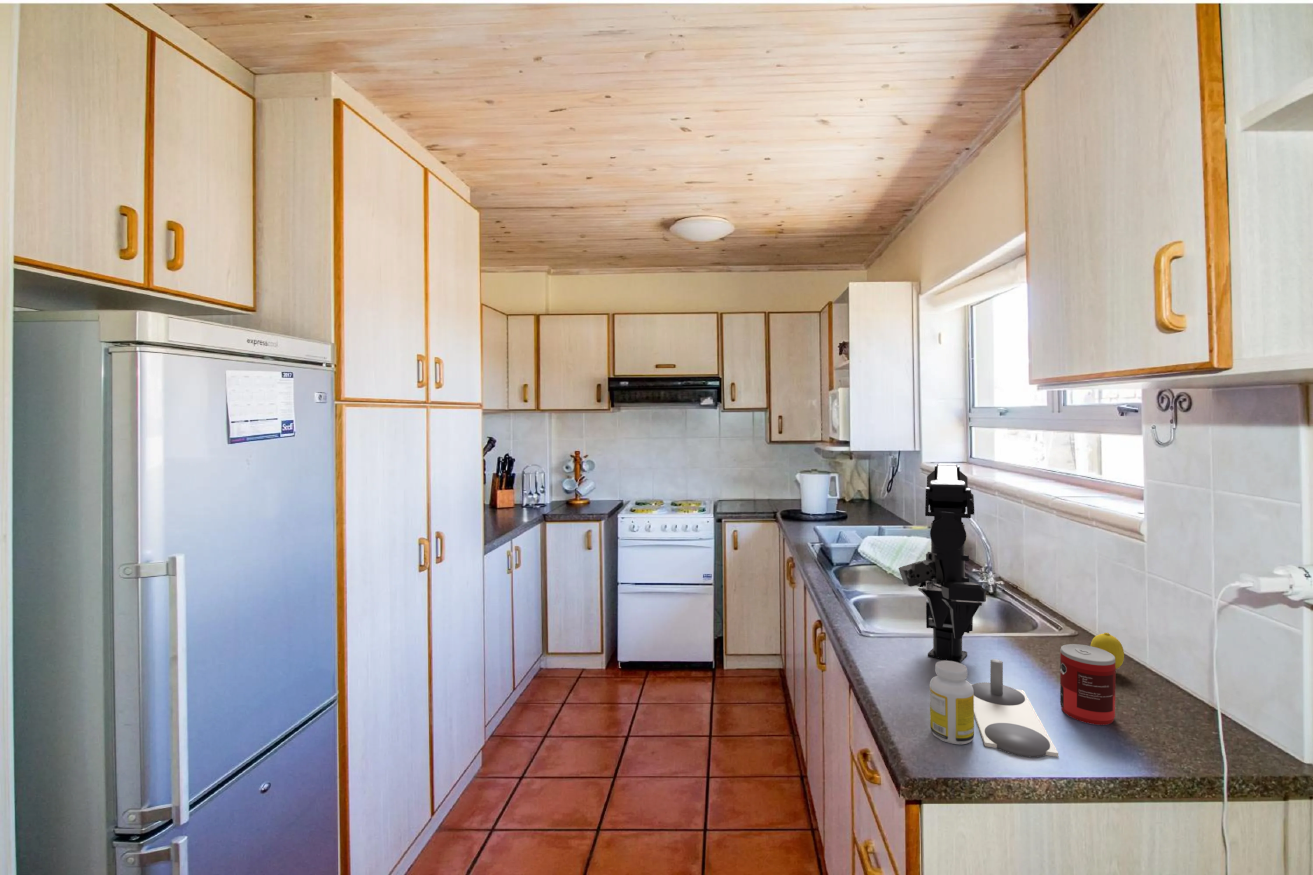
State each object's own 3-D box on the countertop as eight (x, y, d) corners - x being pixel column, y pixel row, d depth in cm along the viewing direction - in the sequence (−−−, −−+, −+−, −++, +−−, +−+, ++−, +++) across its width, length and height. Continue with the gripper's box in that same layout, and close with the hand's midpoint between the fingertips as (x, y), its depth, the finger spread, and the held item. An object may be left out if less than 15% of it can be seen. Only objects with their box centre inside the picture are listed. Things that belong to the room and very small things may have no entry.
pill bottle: (980, 735, 98) (979, 665, 98) (965, 751, 94) (965, 678, 94) (939, 721, 103) (939, 654, 103) (923, 735, 99) (923, 666, 98)
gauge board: (963, 682, 117) (963, 649, 117) (1021, 689, 114) (1021, 655, 114) (986, 750, 94) (986, 708, 94) (1061, 762, 90) (1061, 718, 90)
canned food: (1078, 700, 110) (1078, 640, 109) (1126, 720, 102) (1126, 656, 102) (1049, 708, 107) (1049, 647, 106) (1096, 729, 99) (1096, 664, 99)
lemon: (1095, 675, 119) (1095, 636, 119) (1085, 664, 125) (1085, 626, 124) (1128, 679, 118) (1129, 638, 117) (1117, 667, 123) (1117, 629, 123)
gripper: (889, 542, 123) (888, 620, 122) (920, 549, 105) (919, 641, 103) (945, 545, 122) (946, 624, 121) (986, 553, 104) (987, 646, 102)
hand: (947, 632), depth 112 cm, fingers open, 9 cm apart
